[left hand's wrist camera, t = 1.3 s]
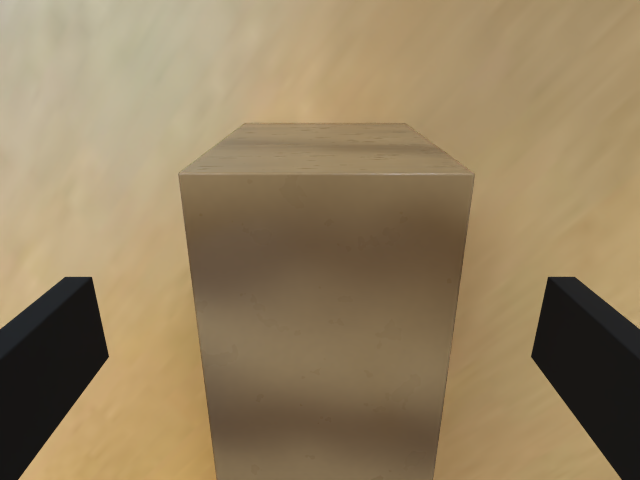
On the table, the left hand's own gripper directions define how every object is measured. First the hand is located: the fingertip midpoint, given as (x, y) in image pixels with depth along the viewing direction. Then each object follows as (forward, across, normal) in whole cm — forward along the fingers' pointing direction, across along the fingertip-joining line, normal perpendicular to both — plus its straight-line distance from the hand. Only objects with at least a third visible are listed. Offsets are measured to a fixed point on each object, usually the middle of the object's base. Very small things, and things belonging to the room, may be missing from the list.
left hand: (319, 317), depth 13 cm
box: (+11, 0, -10) cm, 15 cm away
